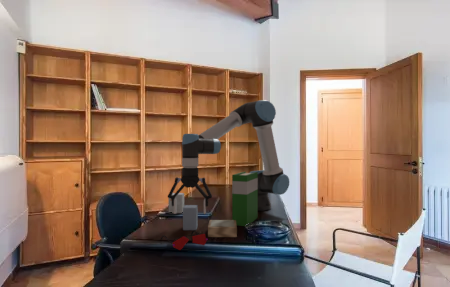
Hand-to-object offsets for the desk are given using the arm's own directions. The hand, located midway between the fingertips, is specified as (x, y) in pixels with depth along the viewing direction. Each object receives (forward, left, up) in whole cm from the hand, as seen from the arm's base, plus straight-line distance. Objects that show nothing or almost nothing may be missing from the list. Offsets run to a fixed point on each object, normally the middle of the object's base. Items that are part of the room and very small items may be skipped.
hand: (189, 213), depth 136 cm
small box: (+12, -32, -7) cm, 35 cm away
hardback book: (-26, -13, -7) cm, 30 cm away
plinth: (-15, +7, -7) cm, 18 cm away
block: (0, 0, -7) cm, 7 cm away
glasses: (0, +19, -7) cm, 20 cm away
